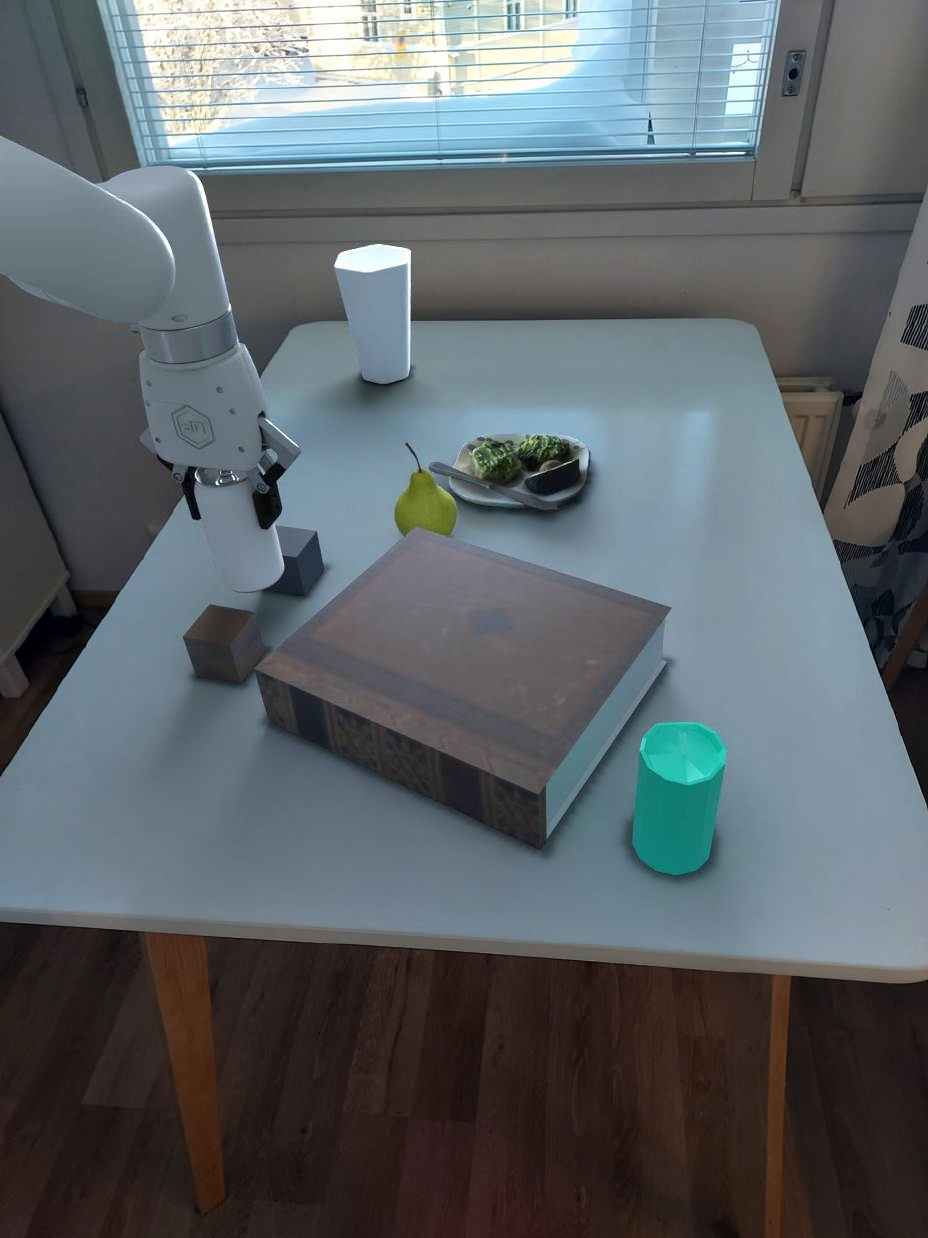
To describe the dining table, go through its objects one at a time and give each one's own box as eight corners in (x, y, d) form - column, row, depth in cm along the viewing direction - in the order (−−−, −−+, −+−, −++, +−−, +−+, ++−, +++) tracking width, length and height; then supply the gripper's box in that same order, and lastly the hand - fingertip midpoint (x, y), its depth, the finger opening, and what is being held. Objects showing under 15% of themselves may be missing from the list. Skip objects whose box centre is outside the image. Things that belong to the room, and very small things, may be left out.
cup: (417, 388, 135) (405, 269, 124) (348, 391, 135) (330, 273, 124) (423, 356, 143) (412, 242, 132) (358, 358, 144) (342, 245, 133)
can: (222, 601, 89) (190, 494, 81) (217, 563, 94) (187, 459, 86) (289, 587, 90) (264, 480, 83) (281, 550, 95) (257, 446, 87)
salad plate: (413, 513, 109) (409, 480, 106) (447, 439, 122) (445, 407, 119) (578, 525, 105) (578, 490, 102) (595, 447, 118) (596, 414, 115)
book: (539, 849, 71) (538, 794, 67) (268, 721, 84) (253, 668, 80) (666, 662, 87) (672, 607, 83) (421, 577, 99) (415, 526, 95)
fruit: (471, 539, 104) (465, 444, 97) (427, 566, 101) (416, 470, 93) (430, 517, 108) (420, 424, 101) (385, 542, 105) (372, 448, 97)
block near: (195, 676, 90) (182, 636, 86) (221, 642, 93) (209, 603, 90) (241, 684, 88) (229, 645, 85) (265, 650, 92) (255, 611, 89)
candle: (723, 830, 72) (742, 721, 64) (694, 888, 68) (711, 780, 60) (650, 800, 74) (661, 692, 67) (618, 854, 71) (626, 747, 63)
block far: (262, 589, 100) (253, 551, 96) (283, 562, 103) (275, 524, 100) (304, 595, 98) (296, 557, 95) (324, 568, 102) (317, 530, 99)
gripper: (74, 345, 76) (137, 527, 87) (262, 361, 71) (302, 551, 83) (126, 310, 81) (179, 486, 93) (304, 322, 77) (337, 506, 88)
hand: (237, 515), depth 88 cm, fingers closed on can, 6 cm apart
